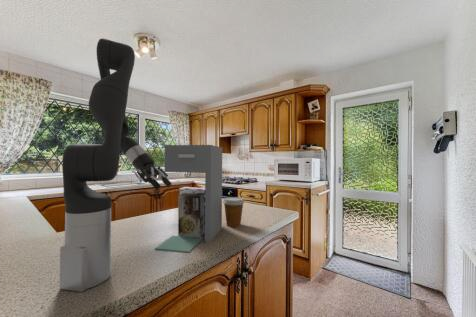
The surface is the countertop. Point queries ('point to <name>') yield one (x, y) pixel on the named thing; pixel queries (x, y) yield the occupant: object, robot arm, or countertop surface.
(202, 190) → the candy box
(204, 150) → the grey tall hooked frame
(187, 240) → the mat
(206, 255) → the countertop surface
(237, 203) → the disposable coffee cup
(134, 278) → the countertop surface
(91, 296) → the countertop surface
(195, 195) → the coffee box
